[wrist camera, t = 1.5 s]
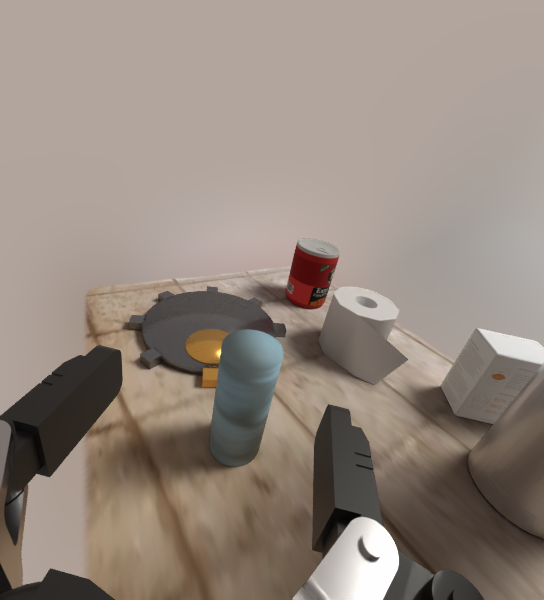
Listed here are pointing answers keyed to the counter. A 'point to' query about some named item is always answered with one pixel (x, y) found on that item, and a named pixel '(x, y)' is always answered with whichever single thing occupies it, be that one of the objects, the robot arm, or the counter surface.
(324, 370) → the counter surface
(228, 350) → the pin
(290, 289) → the canned food
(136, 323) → the sprocket plate
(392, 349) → the toilet tissue
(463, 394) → the small box
